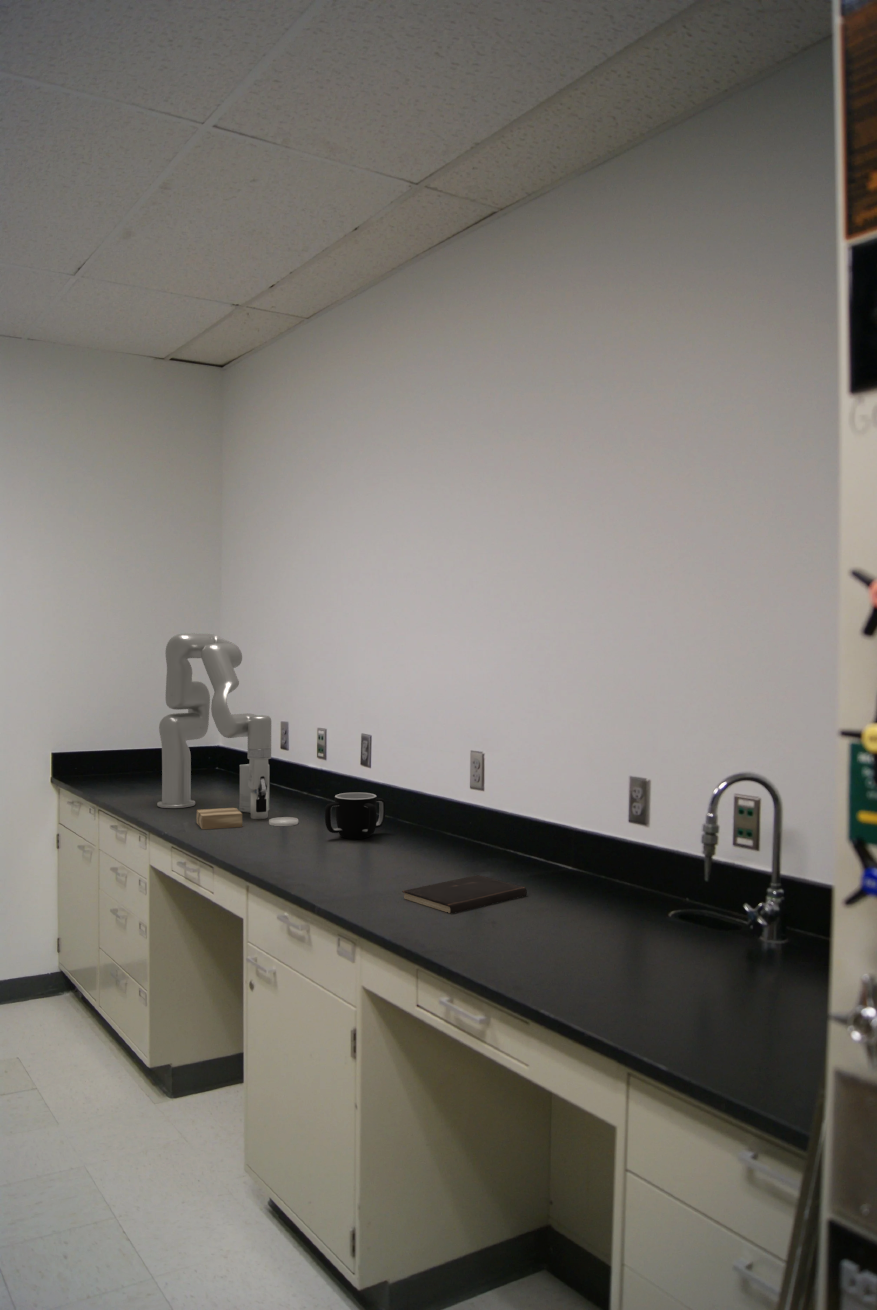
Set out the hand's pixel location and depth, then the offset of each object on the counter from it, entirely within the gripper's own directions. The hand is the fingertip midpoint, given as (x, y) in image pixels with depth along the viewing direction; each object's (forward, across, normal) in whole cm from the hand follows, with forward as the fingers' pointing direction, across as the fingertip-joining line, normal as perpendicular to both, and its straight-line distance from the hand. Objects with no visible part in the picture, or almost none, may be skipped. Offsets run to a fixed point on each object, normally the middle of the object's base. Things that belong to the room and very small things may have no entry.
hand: (259, 809), depth 312 cm
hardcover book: (+3, +113, +23) cm, 115 cm away
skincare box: (+3, -13, +1) cm, 13 cm away
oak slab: (+2, +8, -14) cm, 16 cm away
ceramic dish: (+3, +13, +5) cm, 14 cm away
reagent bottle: (+3, 0, 0) cm, 3 cm away
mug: (+3, +40, +20) cm, 45 cm away
